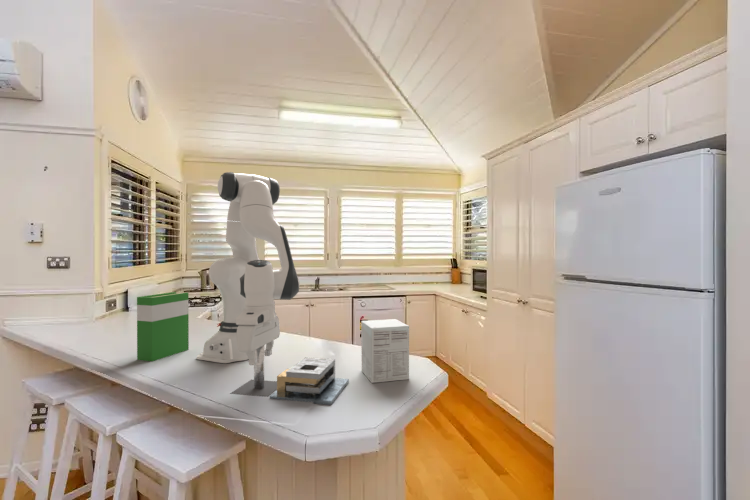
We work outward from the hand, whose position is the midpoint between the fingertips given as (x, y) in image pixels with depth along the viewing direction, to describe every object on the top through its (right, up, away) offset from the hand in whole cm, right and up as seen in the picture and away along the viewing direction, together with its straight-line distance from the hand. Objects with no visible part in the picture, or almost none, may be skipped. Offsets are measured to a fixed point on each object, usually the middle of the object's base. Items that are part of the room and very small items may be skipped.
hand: (260, 359), depth 115 cm
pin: (-1, -8, 0) cm, 8 cm away
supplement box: (+38, -9, +13) cm, 41 cm away
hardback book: (-50, -9, +38) cm, 63 cm away
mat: (-1, -9, 0) cm, 9 cm away
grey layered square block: (+15, -9, -1) cm, 18 cm away
